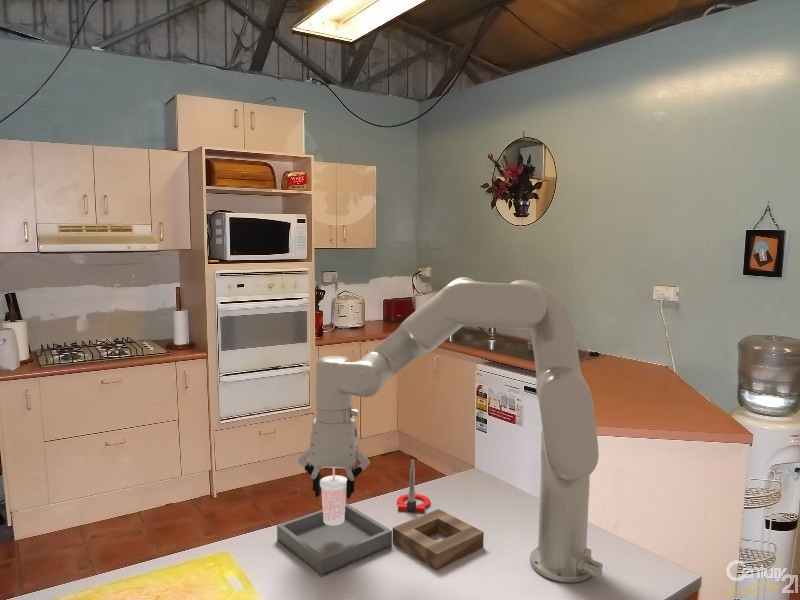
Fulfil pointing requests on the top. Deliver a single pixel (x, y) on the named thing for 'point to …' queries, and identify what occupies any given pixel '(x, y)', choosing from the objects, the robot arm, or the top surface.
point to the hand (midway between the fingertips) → (333, 494)
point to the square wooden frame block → (444, 552)
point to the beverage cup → (333, 498)
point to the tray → (333, 539)
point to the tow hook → (412, 497)
